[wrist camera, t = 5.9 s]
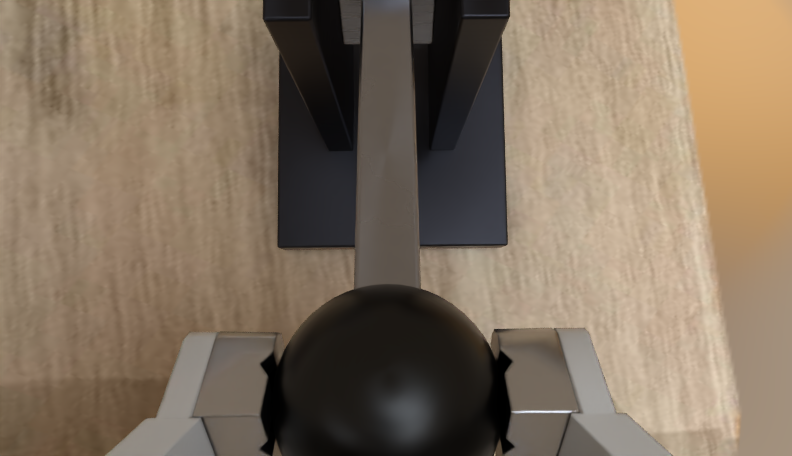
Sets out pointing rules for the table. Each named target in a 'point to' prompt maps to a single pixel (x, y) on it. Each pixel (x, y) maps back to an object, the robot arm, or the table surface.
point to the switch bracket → (435, 126)
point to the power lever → (387, 292)
